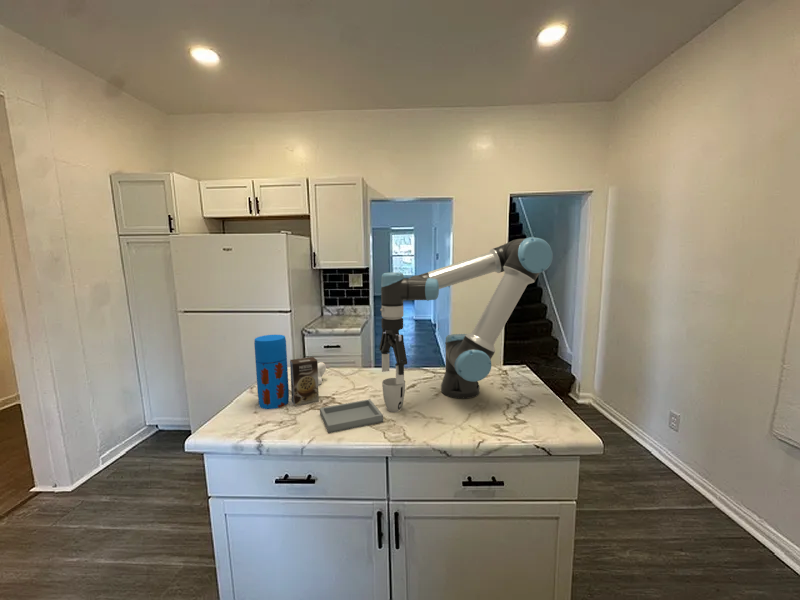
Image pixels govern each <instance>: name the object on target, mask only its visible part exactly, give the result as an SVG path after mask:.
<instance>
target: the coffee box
mask: <svg viewBox="0 0 800 600" xmlns="http://www.w3.org/2000/svg"><path fill="white" fill-rule="evenodd" d="M289 362H290V363H289V365H290V366H289V367H290V390H291V392H290V393H291V394H290V395H291V402H292V404H293V406H294V407H299V406H304V405H308V404H314V403H315V404H316V403H318V402H320V398H319V396H320V395H319V393H320V392H319V385H318V363H319V362H318V360H317V359H316V357H315V356H311V357H310V356H309V357H302V358H296V359H295V358H294V359H290V360H289Z"/></svg>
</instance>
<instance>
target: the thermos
mask: <svg viewBox="0 0 800 600" xmlns="http://www.w3.org/2000/svg"><path fill="white" fill-rule="evenodd" d="M287 350H288V349H287V339H286V336H285V335H283V334H266V335H260V336H257V337H255V338H254V355H255V356H254V359H255V371H256V372H255V374H256V387H257V398H258V404H259V408H261V409H263V410H276V409H279V408H282V407H283V408H284V407H285V406H286V405H287V404H289V403H290V399H289V398H290V392H289V391H290V390H289V388H290V386H289V372H288V371H289V368H288V354H287Z"/></svg>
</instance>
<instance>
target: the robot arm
mask: <svg viewBox="0 0 800 600" xmlns="http://www.w3.org/2000/svg"><path fill="white" fill-rule="evenodd" d="M553 255H554V254H553V250H552V247H551V246H550V244H549V243H548V242H547V241H546V240H545V239H543V238H540V237H535V236H529V237H526V238H517V239H513V240H511V241H509V242H506V243H504V244H502V245H500V246H497V247H493V248H491V249H490V250H489V252H487V253H484V254H480V255H478V256H474V257H471V258H468V259H465V260H462V261H459V262H455V263H452V264H449V265H446V266H443V267H439V268H437V269H433V270H430V271H427V272H424V273H421V274H417V275H412V276H410V277H409V278H406V277H404V273H402V272H394V271H393V272H384V273H382V274H381V281H380V282H381V283H380V284H381V285H380V292H381V293H380V295H381V296H380V297H381V298H380V299H381V308H380V312H381V317H382V318H381V330H382V332H381V338H380V344H379V348H378V349H379V351H380V353H381V372H383V373H384V372H390V353H391V351H390V349H391V348H392V350H393V353H394V358H395V361H396V363H395V378H396V384H402V383H404V380H405V365H408V358H407V351H406V348H405V342H404V341H405V340H404V335H403V334H400V330H403V329H404V318H403V317H404V301H428V302H429V301H436V300H437V299H438V298H439V293H440V290H441V289H444V288H447V287H450V286H454V285H457V284H460V283H464V282H466V281H470V280H473V279H475V278H479V277H483V276H485V275H488V274H491V273H494V272H495V273H497V274H500V273H504V274H503V276H502V278H501V280H500V281H499V283H498V285H497V286H496V288H495V290H494V292H493V294H492V295H491V297H490V300H489V301H488V303H487V305H486V306H485V308H484V310H483V312H482V314H481V315H480V318H479V319H478V321H477V323H476V324H475V326H474V328H473V330H472V332H471V333H454V334H452V333H451V334H447V335H446V337H445V342H444V344H445V373H444V376H443V378H442V381H441V385H440V390H441V393H442V394H443V395H445V396H447V397H450V398H454V399H470V398H471V399H472V398H475V397H477V396H478V395H480V384H479V382H480V381H482V380H484V379H485V378H487V377H488V375H489V374H490V372H491V370H492V358H493V356H494V354H495V353H496V349H495V343H496V342H497V339H498V338H499V336H500V335H501V333H502V331H503V329H504V328H505V326H506V323H507V321H509V318H510V317H511V315H512V314H513V311H514V309H515V308H516V306H517V304H518V302H519V301H520V299H521V297H522V295H523V293H524V292H525V290H526V288H527V286H528V285H530V284H533V283H535V282H536V280H537V278H538V276H539V275H540V273H543V272H545V271H546V270H548V269H549V267H550V266H551V265H552V262H553V259H554V257H553Z"/></svg>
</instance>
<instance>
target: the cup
mask: <svg viewBox="0 0 800 600" xmlns="http://www.w3.org/2000/svg"><path fill="white" fill-rule="evenodd" d="M381 388H382V394H383V395H382V396H383V400H384V405H385V407H386V409H387V411H388V412H392V413H396V412H400V411H401V410H402V408H403V405H404V399H405V394H406V393H405V391H406V389H405V388H406V381H405V379H404V383H402V384H396V377H389V378H385V379H383V380H382V381H381Z"/></svg>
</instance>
